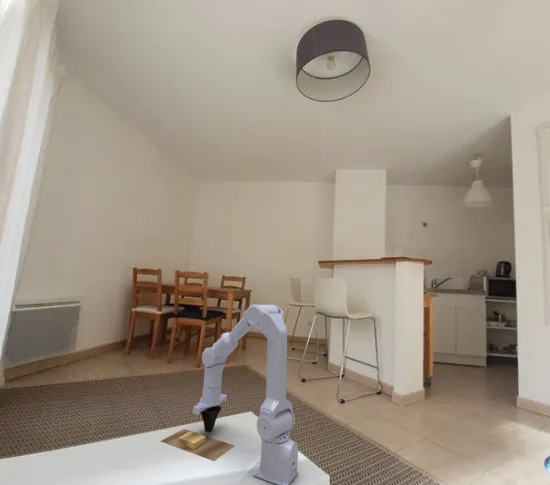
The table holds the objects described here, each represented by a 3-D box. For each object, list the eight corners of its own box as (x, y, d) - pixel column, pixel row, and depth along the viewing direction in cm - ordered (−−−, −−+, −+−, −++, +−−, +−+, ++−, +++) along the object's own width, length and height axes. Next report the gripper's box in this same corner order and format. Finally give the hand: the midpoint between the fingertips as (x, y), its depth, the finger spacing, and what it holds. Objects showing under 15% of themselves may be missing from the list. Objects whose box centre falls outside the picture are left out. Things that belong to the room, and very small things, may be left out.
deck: (234, 451, 92) (234, 445, 92) (213, 467, 83) (214, 461, 84) (183, 433, 101) (183, 428, 101) (159, 446, 92) (160, 441, 93)
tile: (204, 443, 92) (205, 436, 93) (193, 451, 88) (194, 443, 88) (189, 438, 95) (190, 431, 95) (177, 445, 91) (178, 437, 91)
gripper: (216, 378, 109) (212, 420, 107) (187, 389, 96) (182, 436, 94) (232, 382, 106) (229, 425, 104) (205, 393, 93) (201, 443, 91)
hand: (208, 431), depth 99 cm, fingers closed
